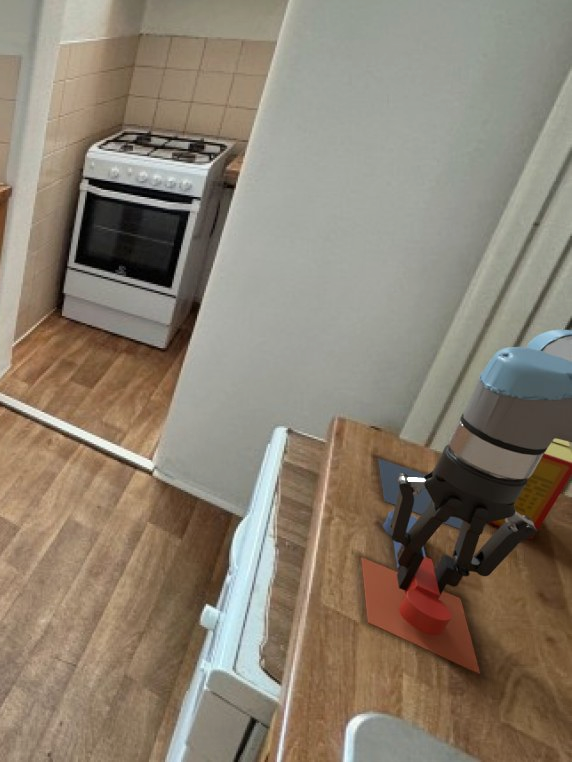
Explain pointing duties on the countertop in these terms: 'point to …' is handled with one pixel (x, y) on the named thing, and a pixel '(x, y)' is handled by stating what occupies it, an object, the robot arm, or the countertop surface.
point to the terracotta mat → (386, 616)
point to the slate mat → (392, 489)
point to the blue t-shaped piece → (410, 524)
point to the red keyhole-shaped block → (425, 602)
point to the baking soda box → (544, 483)
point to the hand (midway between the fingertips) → (415, 588)
